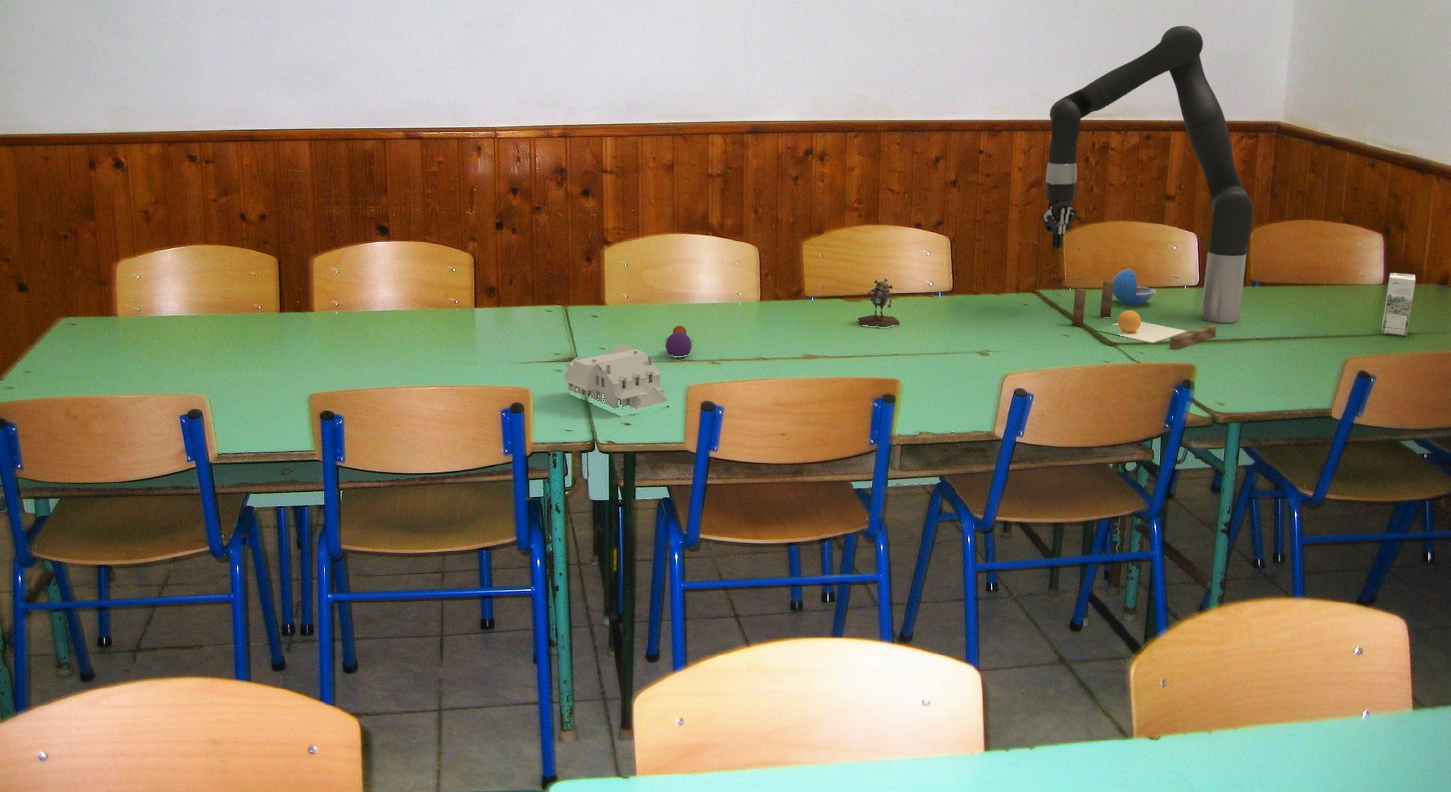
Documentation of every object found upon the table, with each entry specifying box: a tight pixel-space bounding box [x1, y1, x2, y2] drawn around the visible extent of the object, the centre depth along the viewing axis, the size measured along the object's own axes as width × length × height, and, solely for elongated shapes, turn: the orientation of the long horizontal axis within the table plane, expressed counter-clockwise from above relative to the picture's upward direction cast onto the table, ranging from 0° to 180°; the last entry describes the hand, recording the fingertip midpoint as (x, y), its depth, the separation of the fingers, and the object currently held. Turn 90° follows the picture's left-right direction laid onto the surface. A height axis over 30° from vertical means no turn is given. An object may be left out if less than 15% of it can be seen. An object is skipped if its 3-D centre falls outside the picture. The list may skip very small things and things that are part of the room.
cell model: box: [1111, 268, 1157, 306], centre depth 369 cm, size 10×12×10 cm
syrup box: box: [1381, 272, 1416, 337], centre depth 340 cm, size 6×6×14 cm
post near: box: [1072, 288, 1087, 327], centre depth 347 cm, size 3×3×9 cm
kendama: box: [665, 325, 692, 356], centre depth 325 cm, size 6×6×20 cm
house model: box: [564, 343, 668, 410], centre depth 286 cm, size 19×20×10 cm
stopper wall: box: [1169, 324, 1217, 350], centre depth 332 cm, size 18×2×2 cm, turn 133°
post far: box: [1099, 281, 1114, 318], centre depth 355 cm, size 3×3×9 cm
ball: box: [1117, 309, 1142, 333], centre depth 341 cm, size 6×6×6 cm
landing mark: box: [1111, 321, 1188, 344], centre depth 342 cm, size 16×16×1 cm
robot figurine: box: [857, 276, 900, 327], centre depth 347 cm, size 11×9×12 cm
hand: (1057, 247), depth 356 cm, fingers closed
